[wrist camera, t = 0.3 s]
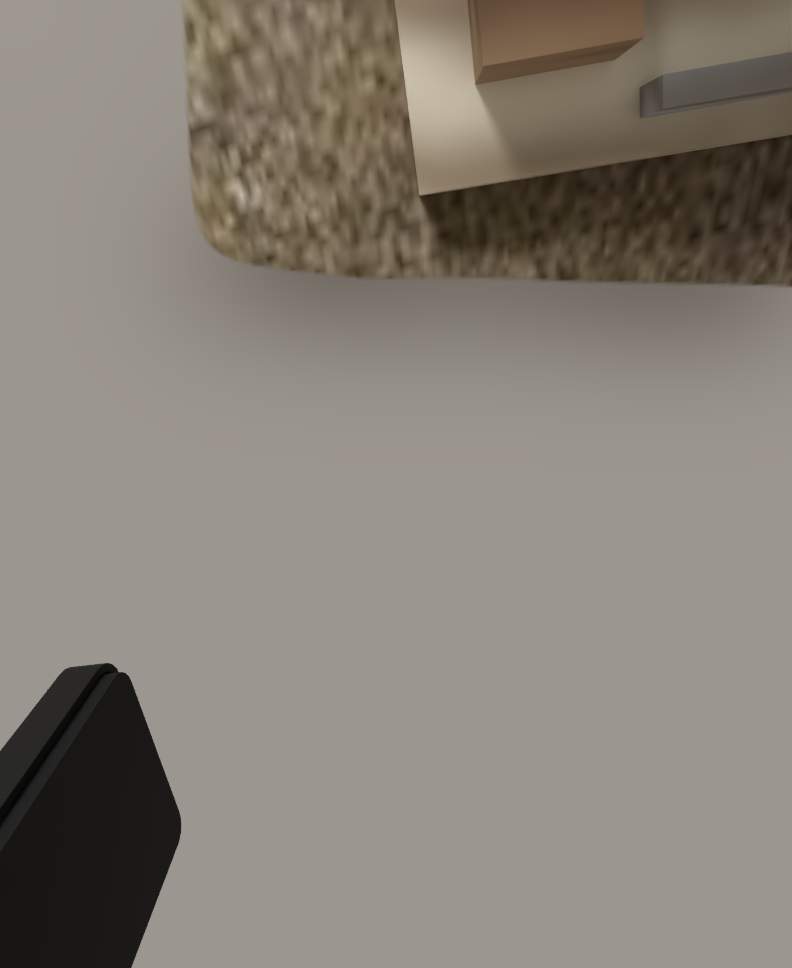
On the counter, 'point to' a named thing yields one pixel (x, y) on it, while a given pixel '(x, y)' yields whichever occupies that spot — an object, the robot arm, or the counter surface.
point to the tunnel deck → (595, 94)
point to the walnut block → (549, 34)
